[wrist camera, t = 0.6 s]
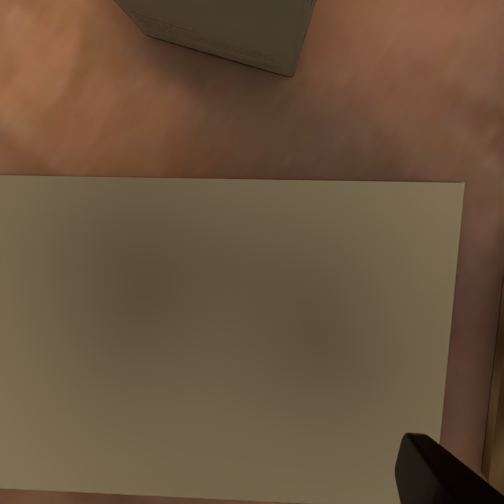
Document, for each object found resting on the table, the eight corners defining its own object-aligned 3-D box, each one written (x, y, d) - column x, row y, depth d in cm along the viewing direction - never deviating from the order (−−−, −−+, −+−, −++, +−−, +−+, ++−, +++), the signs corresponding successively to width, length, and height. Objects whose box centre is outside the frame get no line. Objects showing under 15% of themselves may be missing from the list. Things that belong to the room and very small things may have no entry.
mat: (429, 503, 24) (432, 509, 23) (-5, 481, 25) (-11, 487, 25) (460, 182, 21) (464, 182, 21) (-34, 174, 22) (-41, 174, 22)
